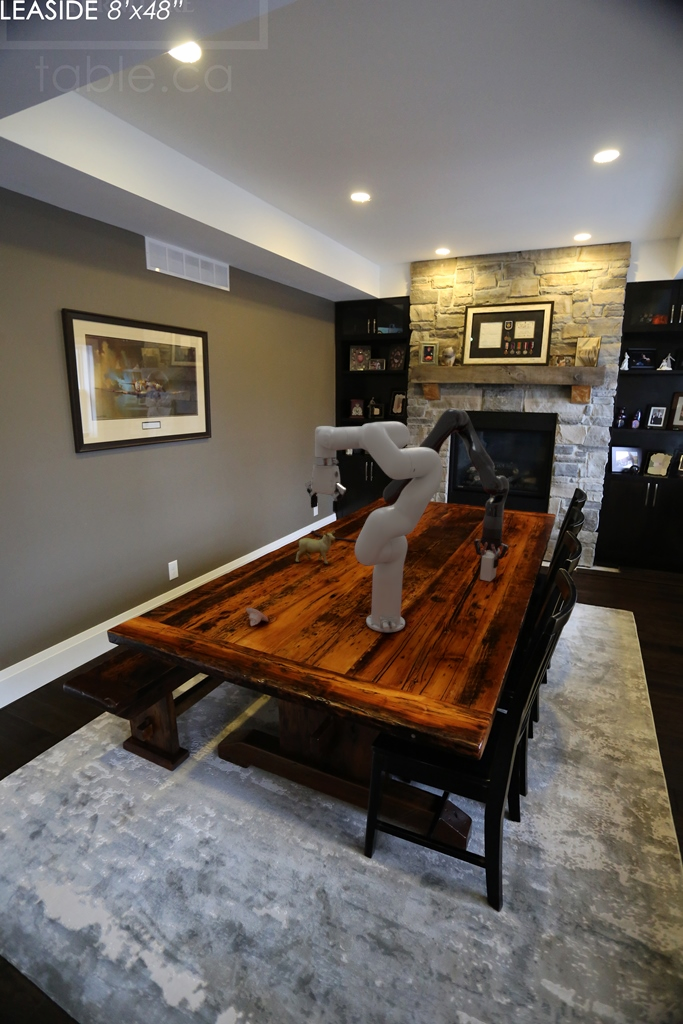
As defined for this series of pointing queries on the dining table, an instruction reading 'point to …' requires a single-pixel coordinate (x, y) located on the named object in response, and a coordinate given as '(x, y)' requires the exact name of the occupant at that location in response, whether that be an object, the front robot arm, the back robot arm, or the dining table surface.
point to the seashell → (255, 616)
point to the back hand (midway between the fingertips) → (488, 566)
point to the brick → (487, 567)
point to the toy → (315, 546)
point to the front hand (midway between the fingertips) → (324, 509)
